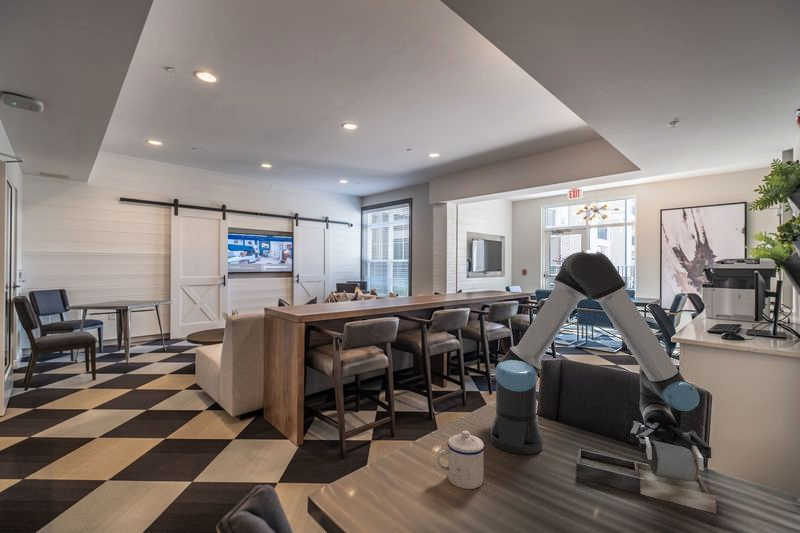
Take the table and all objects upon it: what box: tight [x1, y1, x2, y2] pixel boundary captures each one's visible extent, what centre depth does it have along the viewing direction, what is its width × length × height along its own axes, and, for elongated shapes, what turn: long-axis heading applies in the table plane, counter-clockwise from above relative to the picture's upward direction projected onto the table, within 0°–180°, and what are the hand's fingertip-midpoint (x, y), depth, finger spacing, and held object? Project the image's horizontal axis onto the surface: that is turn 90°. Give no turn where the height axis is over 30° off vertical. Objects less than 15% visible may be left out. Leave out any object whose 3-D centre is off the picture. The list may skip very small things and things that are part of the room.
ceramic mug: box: [648, 440, 699, 481], centre depth 85 cm, size 11×8×8 cm
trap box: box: [575, 448, 717, 514], centre depth 87 cm, size 27×13×4 cm, turn 60°
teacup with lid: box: [435, 430, 485, 490], centre depth 87 cm, size 12×9×12 cm
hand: (674, 458), depth 80 cm, fingers closed on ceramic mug, 9 cm apart
